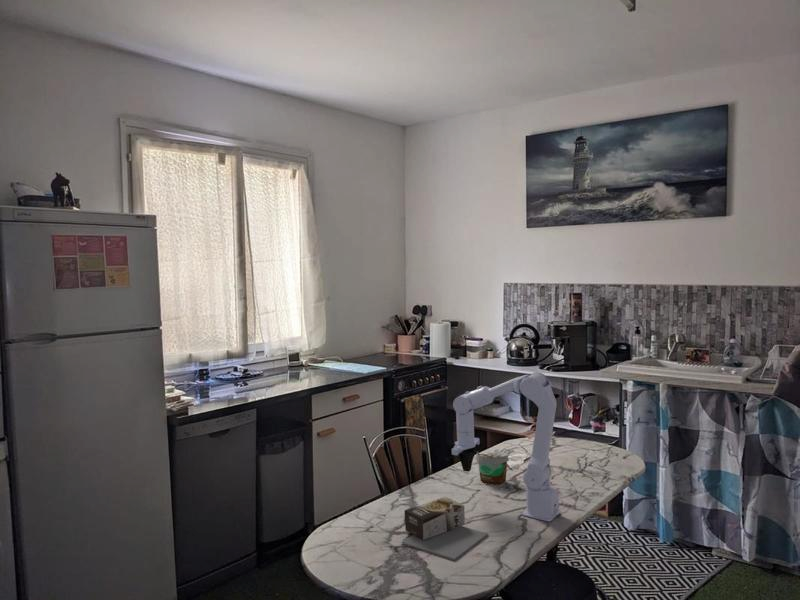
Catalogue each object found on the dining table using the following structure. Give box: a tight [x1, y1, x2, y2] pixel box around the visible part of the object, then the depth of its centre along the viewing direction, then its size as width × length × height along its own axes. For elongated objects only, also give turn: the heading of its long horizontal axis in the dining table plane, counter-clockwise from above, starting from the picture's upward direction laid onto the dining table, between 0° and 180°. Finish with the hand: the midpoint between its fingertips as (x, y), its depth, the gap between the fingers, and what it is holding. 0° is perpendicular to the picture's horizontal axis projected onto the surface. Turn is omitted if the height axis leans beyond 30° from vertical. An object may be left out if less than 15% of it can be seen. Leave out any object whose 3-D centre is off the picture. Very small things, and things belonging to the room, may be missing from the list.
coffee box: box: [404, 496, 466, 540], centre depth 177 cm, size 9×6×16 cm
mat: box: [400, 525, 489, 562], centre depth 171 cm, size 18×18×1 cm
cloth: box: [507, 452, 532, 471], centre depth 235 cm, size 26×14×2 cm, turn 134°
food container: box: [475, 451, 509, 486], centre depth 214 cm, size 12×6×10 cm, turn 62°
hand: (466, 470), depth 198 cm, fingers closed
